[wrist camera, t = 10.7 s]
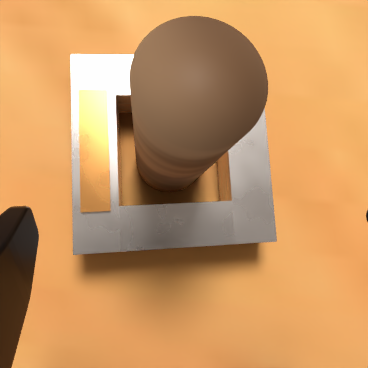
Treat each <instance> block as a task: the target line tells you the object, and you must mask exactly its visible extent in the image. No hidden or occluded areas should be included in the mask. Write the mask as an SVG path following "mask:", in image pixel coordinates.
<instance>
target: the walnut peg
mask: <svg viewBox="0 0 368 368" xmlns="http://www.w3.org/2000/svg"><path fill="white" fill-rule="evenodd" d="M129 82H130V95H131V106H132V117H133V129H134V140H135V151H136V162H137V168H138V171H139V173H140V175H141V177H142V178H143V180H144V181H145V182H146V183H147V184H148V185H150V186H151V187H153V188H155V189H157V190H159V191H163V192H176V191H180V190H182V189H184V188H186V187H188V186H189V185H190V184H192V183H193V182H194V181H195V180H196V179H197V178H198V177H199V176H200V175H202V174H203V173H204V172H205V171H206V170H207V169H208V168H209V167H211V166H212V165H213V164H214V163H215V162H216V161H217V160H218V159H219V158H221V157H222V156H223V155H224V154H225V153H226V152H227V151H228V150H229V149H231V148H232V147H233V146H234V145H235V144H236V143H237V142H238V141H239V140H241V139H242V138H243V137H244V136H245V135H246V134H247V133H248V132H250V131H251V129H252V128H253V127H254V126H255V125H256V123H257V122H258V120H259V119H260V117H261V115H262V113H263V111H264V108H265V105H266V101H267V95H268V80H267V74H266V70H265V66H264V64H263V61H262V59H261V57H260V55H259V53H258V51H257V50H256V48H255V47H254V46H253V44H252V43H251V42H250V41H249V40H248V39H247V38H246V37H245V36H244V35H243V34H242V33H241V32H239V31H238V30H237V29H235V28H234V27H232V26H230V25H228V24H226V23H224V22H222V21H219V20H216V19H212V18H209V17H201V16H187V17H180V18H176V19H173V20H170V21H167V22H165V23H163V24H161V25H159V26H158V27H156V28H155V29H154V30H152V31H151V32H150V33H149V34H148V35H147V36H146V37H145V38H144V39H143V40H142V42H141V43H140V44H139V46H138V48H137V50H136V51H135V54H134V56H133V59H132V62H131V67H130V75H129Z"/></svg>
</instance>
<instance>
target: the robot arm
mask: <svg viewBox="0 0 368 368" xmlns="http://www.w3.org/2000/svg"><path fill="white" fill-rule="evenodd" d="M366 218H367V222H368V210H367V213H366ZM38 240H39V234H38V229H37V226H36V222H35V219H34V216H33V213H32V210H31V208H30V207H28V206H14V207H10V208H8V209H7V210H6V211H5V212H3V213H2V214H1V215H0V368H11V367H12V364H13V360H14V356H15V353H16V349H17V345H18V341H19V338H20V334H21V330H22V327H23V323H24V319H25V316H26V312H27V308H28V304H29V300H30V295H31V289H32V282H33V275H34V268H35V261H36V254H37V247H38Z"/></svg>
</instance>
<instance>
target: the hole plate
mask: <svg viewBox="0 0 368 368" xmlns="http://www.w3.org/2000/svg"><path fill="white" fill-rule="evenodd" d="M70 55H71V130H72V205H73V255H78V254H94V253H109V252H124V251H139V250H154V249H169V248H185V247H200V246H215V245H230V244H245V243H260V242H276V241H277V238H276V227H275V216H274V205H273V194H272V184H271V173H270V162H269V151H268V140H267V129H266V118H265V108H264V111H263V113H262V115H261V117H260V119H259V120H258V122H257V123H256V125H255V126H254V127H253V128H252V129H251V131H250V132H248V133H247V134H246V135H245V136H244V137H243V138H242V139H241V140H239V141H238V142H237V143H236V144H235V145H234V146H233V147H232V148H231V149H229V150H228V151H227V152H226V153H225V154H224V155H223V156H222V157H221V158H219V159H218V160H217V169H218V183H219V197H220V201H217V202H196V203H175V204H154V205H133V206H122V188H121V157H120V127H119V113H132V106H131V95H130V82H129V75H130V67H131V62H132V59H133V56H134V55H111V54H70Z"/></svg>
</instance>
